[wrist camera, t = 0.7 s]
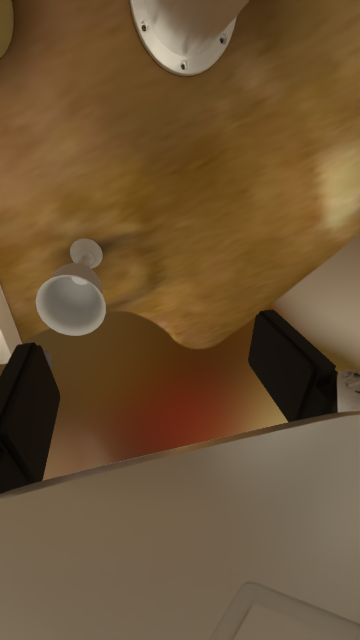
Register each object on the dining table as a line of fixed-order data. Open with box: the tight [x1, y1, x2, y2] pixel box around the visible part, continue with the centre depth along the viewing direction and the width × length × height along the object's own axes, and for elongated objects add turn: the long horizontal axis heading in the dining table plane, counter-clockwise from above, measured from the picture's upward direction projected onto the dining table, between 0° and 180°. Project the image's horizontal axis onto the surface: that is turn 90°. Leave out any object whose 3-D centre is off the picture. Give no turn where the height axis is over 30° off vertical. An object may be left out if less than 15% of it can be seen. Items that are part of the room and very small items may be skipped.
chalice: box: [36, 238, 106, 336], centre depth 34 cm, size 7×7×18 cm
